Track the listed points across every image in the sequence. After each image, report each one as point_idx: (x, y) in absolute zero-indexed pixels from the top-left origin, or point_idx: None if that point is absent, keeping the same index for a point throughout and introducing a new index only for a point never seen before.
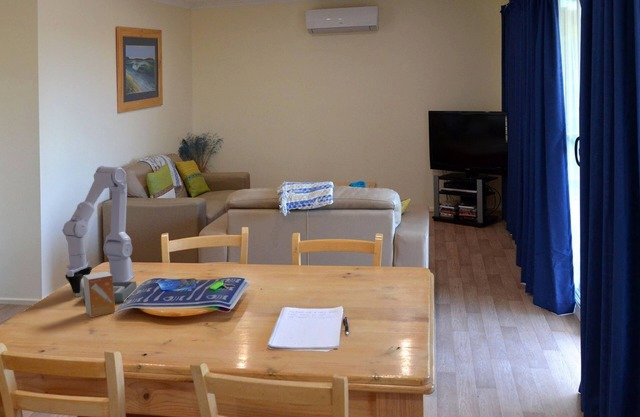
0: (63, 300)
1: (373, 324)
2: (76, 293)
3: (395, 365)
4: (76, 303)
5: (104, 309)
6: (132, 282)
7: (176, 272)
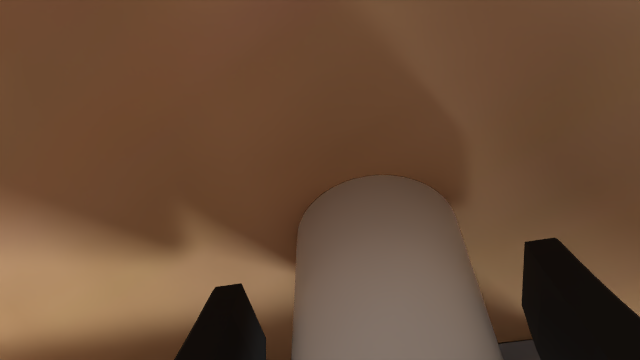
0: (71, 164)
1: None
2: (296, 261)
3: None
4: (74, 345)
5: None
6: None
7: None
